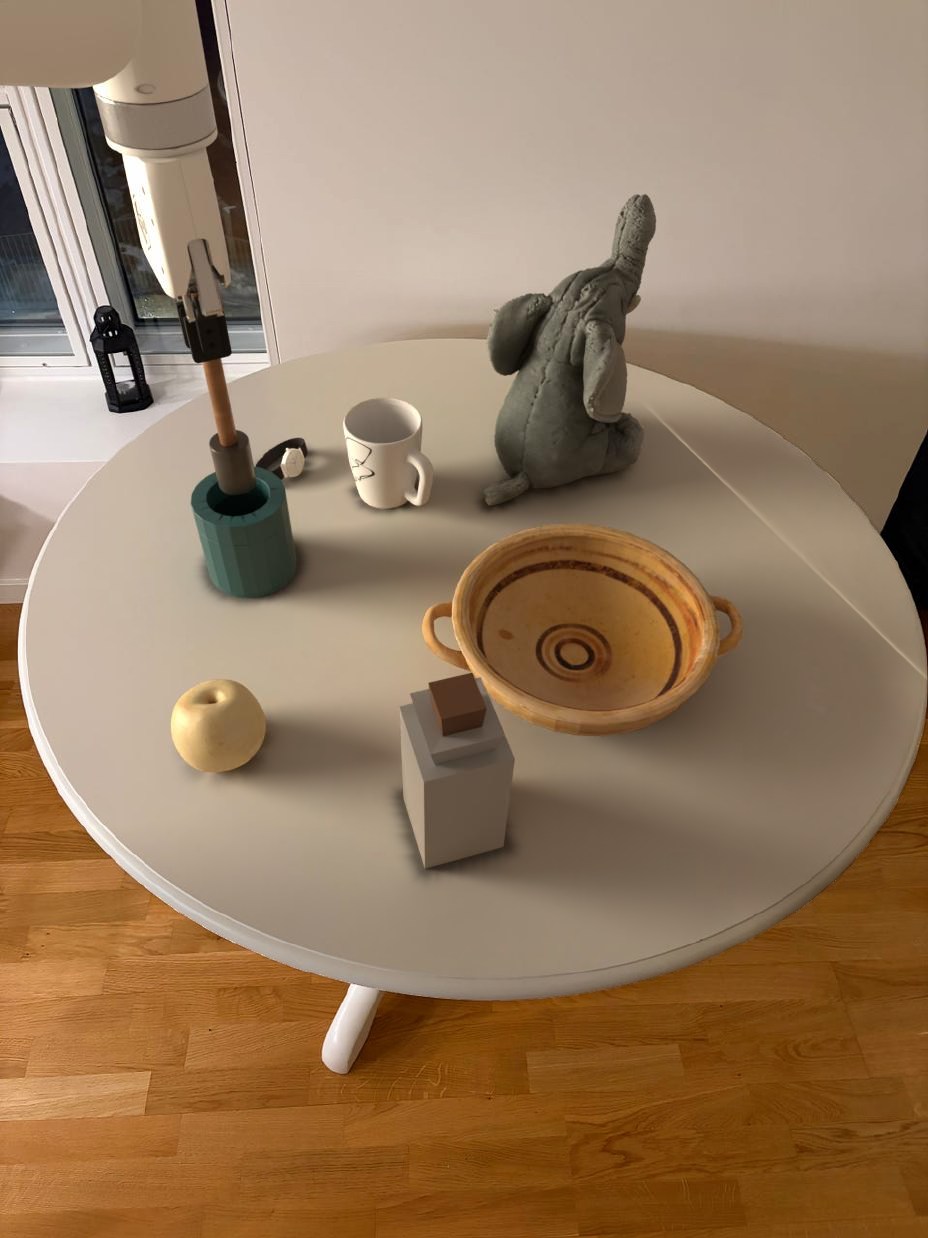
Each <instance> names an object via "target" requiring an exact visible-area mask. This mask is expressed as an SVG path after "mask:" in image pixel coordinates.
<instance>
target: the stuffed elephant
mask: <svg viewBox="0 0 928 1238" xmlns="http://www.w3.org/2000/svg"><path fill="white" fill-rule="evenodd" d="M618 214H619V215H618V216H617V219H616V221H615V229H614V238H613V241H612V247H611V256H610V257H609V258H607V259H605V261H603V262H602V263H601V264H600V265H599V266H596V267H595V266H594V267H590V268H585V269H584V270H583V269H581V270H578V271H575V272H573V273H571V274H570V275H568V276H566V277H564V278H563V279H562V280H561V281H560V282H559V283H557V285H556V286H555V287H553V289H552V290H551V292H549V293H548V294H547V295H546V294H545V293H543V292H542V293H541V292H540V293H539V292H538V293H537V292H534V293H531V292H530V293H529V292H527V293H525V294H524V295H521V296H517V297H515V298H512V299H511V300H508V301H506V302H505V303H504V304H503V305H502V306H500V307H499V309H498V310H495V314H494V315H493V317H492V319H491V322H490V324H489V328H488V334H487V335H486V350H487V356H488V359H489V361H490V365H491V367H492V369H493V371H495V373H497V374H499V375H500V376H503V377H507V376H512V375H514V374H516V373H517V374H516V376H515V378H514V380H513V381H512V383H511V386H510V388H509V390H508V393H507V394H506V396H505V398H504V400H503V401H504V402H503V404H502V406H501V408H500V410H499V411H498V415H497V417H496V421H495V428H494V440H493V441H494V448H495V452H496V455H497V458H498V460H499V461H500V464H501V466H502V467H503V470H504V471H505V474H507V476H508V477H509V479H500V480H497V481H495V482H493V483H491V484H490V485H488V486H486V487H485V488H484V490H483V494H484V495H485V500H484V501H485V503H486V504H487V505H488V506H496V505H500V504H503V503H505V502H507V501H510V500H512V499H515V498H516V497H518V496H520V495H521V494H523V493H524V492H525V491H526V490H528V489H529V488H531V489H548V488H549V489H550V488H556V487H559V486H562V485H566V484H569V483H572V482H575V481H577V480H580V479H582V478H584V477H591V476H598V475H605V474H607V475H608V474H613V473H616V472H618V471H622V470H624V469H627V468H628V467H630V466H632V465H634V464H635V463H637V462H638V460H639V456H640V455H641V452H642V445H643V444H644V440H645V439H644V438H645V431H644V430H645V428H644V427H643V426H642V424H641V423H640V422H639V420H638V419H637V418H635V417H634V416H633V415H632V413H627V412H623V408H624V407H625V401H626V395H627V389H628V388H627V386H628V368H627V362H626V361H627V360H626V356H625V355H626V354H625V351H624V348H623V343H624V341H625V338H626V337H625V336H626V327H627V326H626V323H627V322H626V321H627V315H628V314H631V313H633V311H634V310H635V309H637V308H638V306H639V305H640V303H641V301H642V297H641V295H639V294H638V291H639V289H640V288H641V287H640V286H641V284H642V277H643V273H644V268H645V266H646V260H647V259H646V257H647V253H648V251H649V245H650V243H651V241H652V239H653V238H654V236H655V234H656V229H657V215H656V213H655V208H654V204H653V202H652V200H651V197H649V195H648V194H647V193H645V194H644V193H643V194H641V195H640V194H633V195H632V196H630V198H628V200H627V202H625V204H624V205H623V207H622V208H621V209H620V212H619V213H618Z"/></svg>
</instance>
